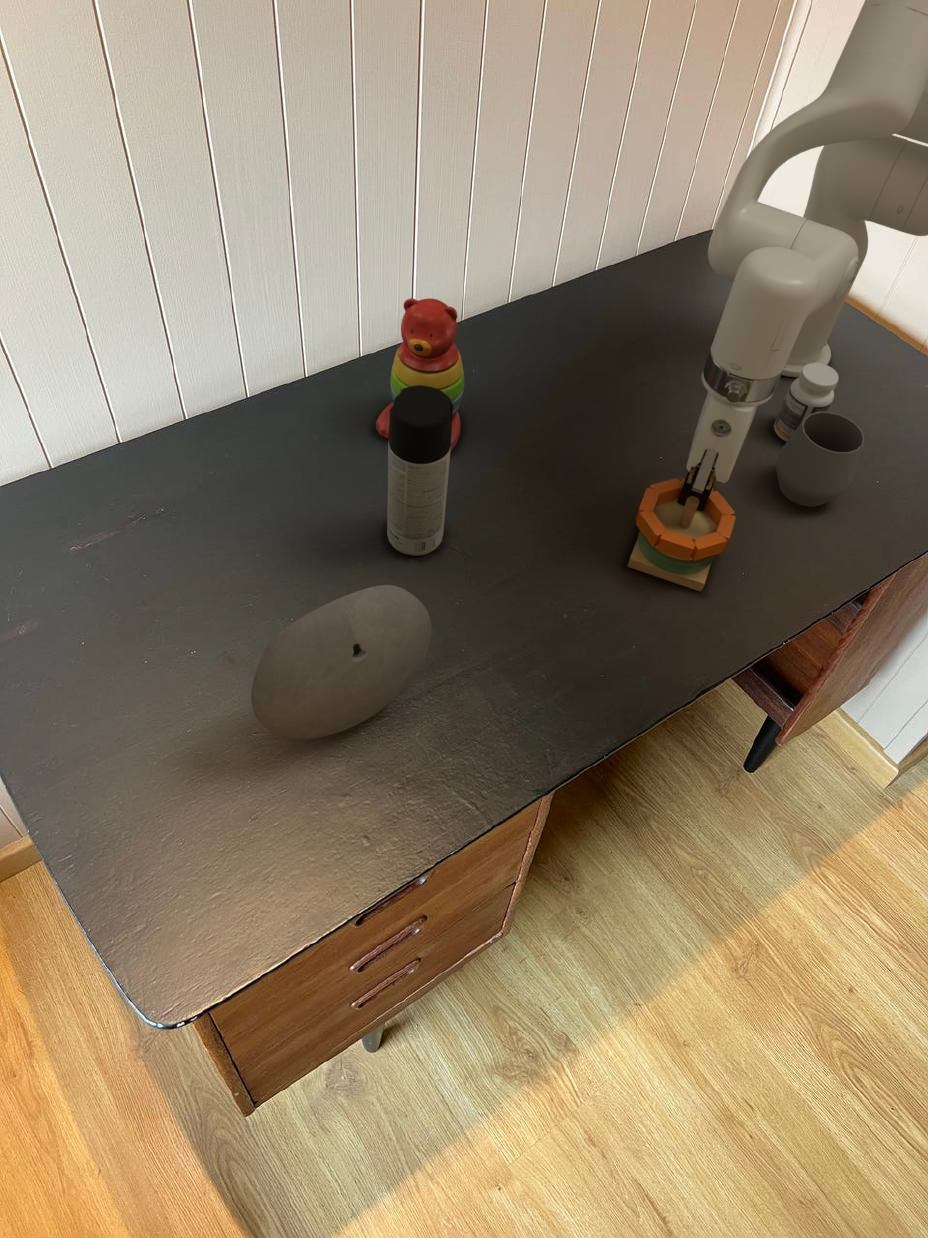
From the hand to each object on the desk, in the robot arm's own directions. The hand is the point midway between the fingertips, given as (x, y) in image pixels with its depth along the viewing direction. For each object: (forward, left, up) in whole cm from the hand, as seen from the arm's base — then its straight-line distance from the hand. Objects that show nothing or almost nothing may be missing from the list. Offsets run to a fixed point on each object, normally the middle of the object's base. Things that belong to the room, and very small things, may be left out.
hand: (692, 498), depth 108 cm
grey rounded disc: (+41, -25, -5) cm, 49 cm away
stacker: (+4, 0, -5) cm, 7 cm away
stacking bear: (-4, -36, -5) cm, 37 cm away
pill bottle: (-25, +10, -5) cm, 27 cm away
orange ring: (+4, 0, 0) cm, 5 cm away
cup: (-14, +13, -5) cm, 20 cm away
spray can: (+15, -29, -5) cm, 33 cm away
